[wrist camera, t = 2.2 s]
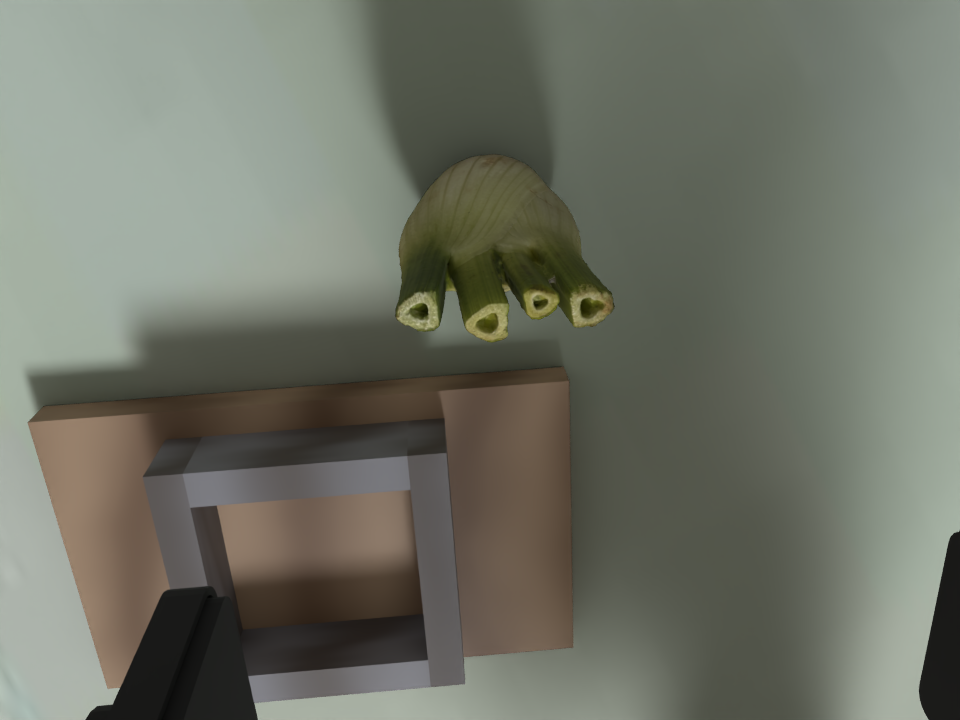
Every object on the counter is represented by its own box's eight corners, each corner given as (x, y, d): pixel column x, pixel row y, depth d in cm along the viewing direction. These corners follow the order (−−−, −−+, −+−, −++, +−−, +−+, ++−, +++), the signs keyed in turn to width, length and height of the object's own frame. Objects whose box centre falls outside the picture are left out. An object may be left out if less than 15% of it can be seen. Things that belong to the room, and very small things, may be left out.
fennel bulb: (393, 234, 33) (376, 344, 22) (445, 119, 31) (456, 174, 20) (522, 292, 34) (569, 424, 23) (578, 184, 32) (658, 269, 21)
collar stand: (563, 366, 35) (582, 413, 31) (568, 626, 41) (584, 694, 37) (43, 406, 34) (-9, 459, 30) (118, 665, 40) (83, 740, 36)
